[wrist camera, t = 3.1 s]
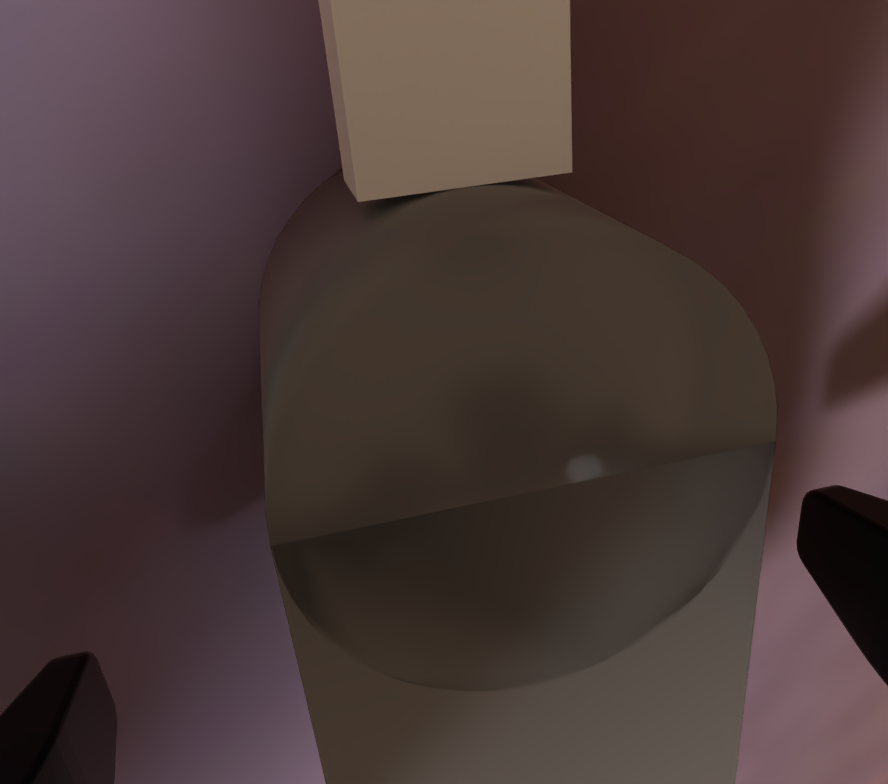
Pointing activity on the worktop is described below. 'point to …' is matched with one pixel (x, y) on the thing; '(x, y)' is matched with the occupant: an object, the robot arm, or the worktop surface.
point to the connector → (503, 433)
